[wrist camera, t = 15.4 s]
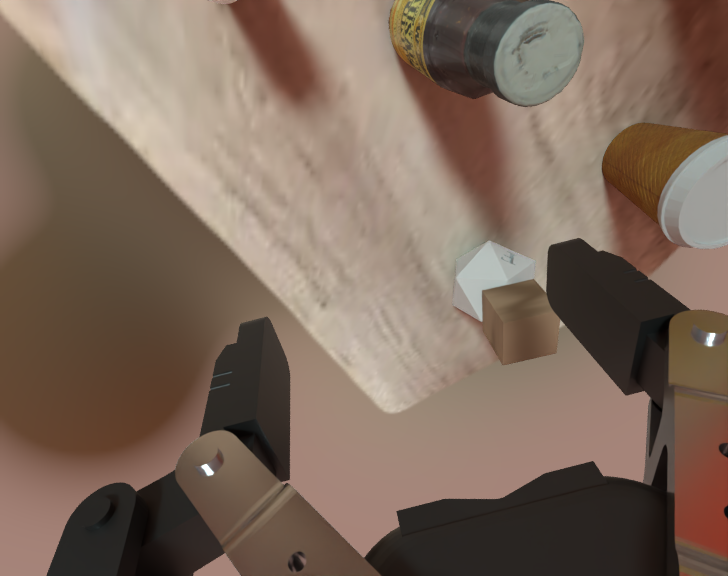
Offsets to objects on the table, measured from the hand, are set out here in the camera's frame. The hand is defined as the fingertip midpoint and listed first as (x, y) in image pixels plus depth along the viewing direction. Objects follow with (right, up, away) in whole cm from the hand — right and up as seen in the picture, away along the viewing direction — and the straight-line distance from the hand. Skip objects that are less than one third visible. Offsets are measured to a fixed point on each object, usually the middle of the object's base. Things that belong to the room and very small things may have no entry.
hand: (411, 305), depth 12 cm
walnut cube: (+13, -1, +30) cm, 32 cm away
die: (+11, +3, +36) cm, 38 cm away
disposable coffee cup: (+25, +14, +31) cm, 43 cm away
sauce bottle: (+3, +22, +22) cm, 31 cm away
